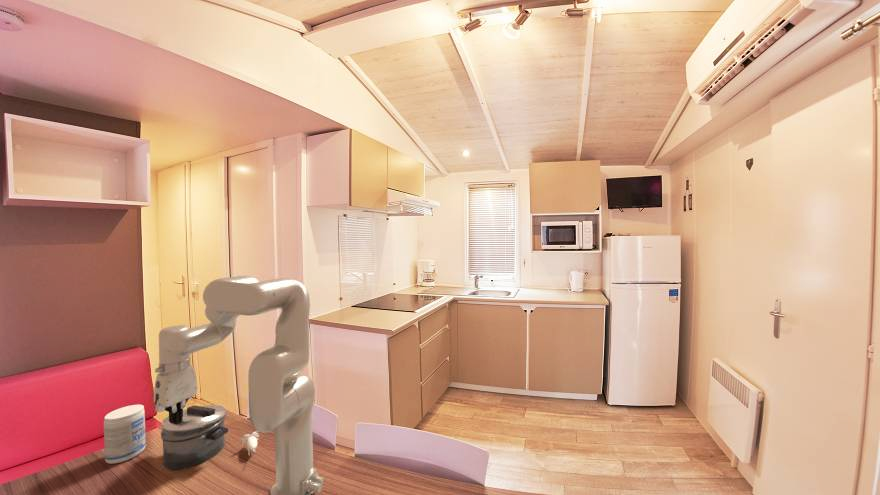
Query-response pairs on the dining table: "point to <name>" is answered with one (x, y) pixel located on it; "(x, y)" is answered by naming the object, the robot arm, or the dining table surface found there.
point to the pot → (193, 445)
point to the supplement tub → (124, 433)
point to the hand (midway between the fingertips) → (176, 422)
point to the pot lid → (195, 418)
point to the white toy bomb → (251, 441)
